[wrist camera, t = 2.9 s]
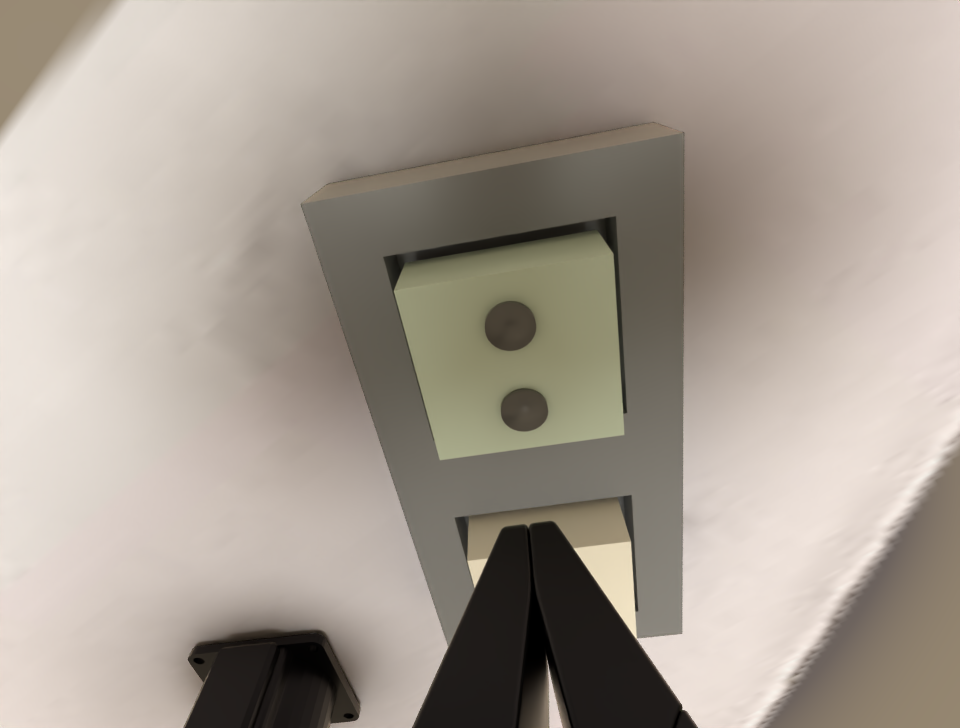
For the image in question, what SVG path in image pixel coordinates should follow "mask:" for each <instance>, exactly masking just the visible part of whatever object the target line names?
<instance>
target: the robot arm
mask: <svg viewBox="0 0 960 728" xmlns="http://www.w3.org/2000/svg"><path fill="white" fill-rule="evenodd" d="M547 660H548V663H547ZM188 661H189V663H190V664H191V666H192V667H193V668H194V670H195V671H196V673H197V674H198V675H199V677H200V678H201V679H202V681H203V682H204V684H203V686H202V688H201V690H200V693H199V695H198V697H197V699H196V701H195V704H194V706H193V708H192V710H191V712H190V715H189V717H188V719H187V721H186V723H185V726H184V728H329V727H330V723H340V722H350V721H355V720H357V719H358V718H359V713H360V706H359V704H358V702H357V700H356V698H355V696H354V694H353V692H352V690H351V688H350V686H349V684H348V682H347V680H346V678H345V676H344V674H343V672H342V670H341V668H340V666H339V664H338V662H337V660H336V658H335V656H334V654H333V652H332V650H331V648H330V646H329V644H328V642H327V640H326V639H325V637H323V636H322V635H319V634H305V635H296V636H287V637H278V638H269V639H259V640H250V641H241V642H232V643H223V644H214V645H205V646H197V647H194V648H193V649H192V651H191V653H190V655H189V657H188ZM548 665H549V670H550V675H551V680H552V684H553V689H554V693H555V697H556V701H557V705H558V710H559V714H560V718H561V722H562V726H563V728H698V727H697V725H696V724H695V723H694V721H693V720H692V718H691V717H690V715H689V714H688V712H687V711H685V710H682V704H681V703H680V701H679V700H678V698H677V697H676V696H675V694H674V693H673V691H672V690H671V688H670V687H669V685H668V684H667V683H666V681H665V680H664V678H663V677H662V675H661V674H660V672H659V671H658V670H657V668H656V667H655V665H654V664H653V662H652V661H651V659H650V658H649V657H648V655H647V654H646V652H645V651H644V649H643V648H642V646H641V645H640V644H639V642H638V641H637V639H636V638H635V636H634V635H633V633H632V632H631V631H630V629H629V628H628V626H627V625H626V623H625V622H624V620H623V619H622V618H621V616H620V615H619V613H618V612H617V610H616V609H615V607H614V606H613V605H612V603H611V602H610V600H609V599H608V597H607V596H606V594H605V593H604V592H603V590H602V589H601V587H600V586H599V584H598V583H597V581H596V580H595V579H594V577H593V576H592V574H591V573H590V571H589V570H588V568H587V567H586V566H585V564H584V563H583V561H582V560H581V558H580V557H579V555H578V554H577V553H576V551H575V550H574V548H573V547H572V545H571V544H570V542H569V541H568V540H567V538H566V537H565V535H564V534H563V532H562V531H561V529H560V528H559V527H558V525H557V524H556V523H555V522H554V521H544V522H536V523H531V524H530V525H529V528H528V526H527V525H525V524H520V525H512V526H505V527H503V528H502V529H501V531H500V533H499V535H498V537H497V539H496V542H495V544H494V546H493V548H492V550H491V553H490V555H489V557H488V559H487V562H486V564H485V566H484V568H483V571H482V573H481V575H480V577H479V580H478V582H477V584H476V586H475V588H474V591H473V593H472V595H471V597H470V600H469V602H468V604H467V606H466V609H465V611H464V613H463V615H462V617H461V620H460V622H459V624H458V626H457V629H456V631H455V633H454V635H453V638H452V640H451V642H450V644H449V646H448V649H447V651H446V653H445V655H444V658H443V660H442V662H441V664H440V667H439V669H438V671H437V673H436V676H435V678H434V680H433V682H432V684H431V687H430V689H429V691H428V693H427V696H426V698H425V700H424V702H423V705H422V707H421V709H420V711H419V713H418V716H417V718H416V720H415V722H414V725H413V727H412V728H549V678H548Z"/></svg>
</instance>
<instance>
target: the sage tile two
mask: <svg viewBox="0 0 960 728" xmlns="http://www.w3.org/2000/svg"><path fill="white" fill-rule="evenodd" d="M394 294H395V297H396V301H397V305H398V308H399V312H400V316H401V319H402V323H403V327H404V330H405V334H406V338H407V341H408V345H409V349H410V352H411V356H412V360H413V363H414V367H415V371H416V374H417V378H418V382H419V386H420V389H421V393H422V397H423V400H424V404H425V408H426V411H427V415H428V419H429V422H430V426H431V430H432V433H433V437H434V441H435V444H436V448H437V452H438V455H439V459H440V460H446V459H453V458H460V457H468V456H475V455H482V454H490V453H497V452H504V451H511V450H519V449H526V448H533V447H541V446H548V445H555V444H562V443H570V442H577V441H584V440H591V439H599V438H606V437H613V436H621V435H624V419H623V403H622V386H621V370H620V353H619V337H618V320H617V304H616V287H615V271H614V254H613V253H612V251H611V250H610V248H609V247H608V245H607V244H606V242H605V241H604V239H603V238H602V236H601V235H600V234H599V232H598V231H597V230H592V231H587V232H581V233H575V234H569V235H564V236H558V237H552V238H546V239H540V240H535V241H529V242H523V243H517V244H511V245H506V246H500V247H494V248H488V249H482V250H477V251H471V252H465V253H459V254H453V255H448V256H442V257H436V258H430V259H425V260H419V261H413V262H407V263H405V264H404V267H403V269H402V272H401V274H400V276H399V279H398V281H397V284H396V286H395V289H394Z"/></svg>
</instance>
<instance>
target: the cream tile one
mask: <svg viewBox="0 0 960 728" xmlns="http://www.w3.org/2000/svg"><path fill="white" fill-rule="evenodd" d="M544 521H554V522H555V523H556V524H557V525H558V527H559V528H560V529H561V531H562V532H563V534H564V535H565V537H566V538H567V540H568V541H569V542H570V544H571V545H572V547H573V548H574V550H575V551H576V553H577V554H578V555H579V557H580V558H581V560H582V561H583V563H584V564H585V566H586V567H587V568H588V570H589V571H590V573H591V574H592V576H593V577H594V579H595V580H596V581H597V583H598V584H599V586H600V587H601V589H602V590H603V592H604V593H605V594H606V596H607V597H608V599H609V600H610V602H611V603H612V605H613V606H614V607H615V609H616V610H617V612H618V613H619V615H620V616H621V618H622V619H623V620H624V622H625V623H626V625H627V626H628V628H629V629H630V631H631V632H632V633H633V635H634V636H635V638H636V639H637V633H636V617H635V600H634V584H633V568H632V551H631V540H630V537H629V534H628V530H627V527H626V524H625V521H624V517H623V514H622V511H621V508H620V504H619V501H618V498H617V497H612V498H604V499H596V500H588V501H580V502H572V503H565V504H557V505H549V506H541V507H533V508H525V509H517V510H510V511H502V512H494V513H486V514H478V515H470V516H469V526H468V555H467V562H468V565H469V569H470V573H471V576H472V580H473V584H474V587H475V586H476V584H477V582H478V580H479V577H480V575H481V573H482V571H483V568H484V566H485V564H486V562H487V559H488V557H489V555H490V553H491V550H492V548H493V546H494V544H495V542H496V539H497V537H498V535H499V533H500V531H501V529H502V528H503V527H505V526H512V525H520V524H525V525H527V526H528V528H529V525H530V524H531V523H536V522H544Z"/></svg>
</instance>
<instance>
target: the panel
mask: <svg viewBox="0 0 960 728" xmlns="http://www.w3.org/2000/svg"><path fill="white" fill-rule="evenodd" d="M301 206H302V209H303V212H304V215H305V218H306V221H307V224H308V227H309V230H310V233H311V236H312V239H313V242H314V245H315V248H316V251H317V254H318V257H319V260H320V263H321V266H322V269H323V272H324V275H325V278H326V281H327V284H328V287H329V290H330V293H331V296H332V299H333V302H334V305H335V308H336V311H337V314H338V317H339V320H340V323H341V326H342V329H343V332H344V335H345V338H346V341H347V344H348V347H349V350H350V353H351V356H352V359H353V362H354V365H355V368H356V371H357V374H358V377H359V380H360V383H361V386H362V389H363V392H364V395H365V398H366V401H367V404H368V407H369V410H370V413H371V416H372V419H373V422H374V425H375V428H376V431H377V434H378V437H379V440H380V443H381V446H382V449H383V452H384V455H385V458H386V461H387V464H388V467H389V470H390V473H391V476H392V479H393V482H394V485H395V488H396V491H397V494H398V497H399V500H400V503H401V506H402V509H403V512H404V515H405V518H406V521H407V524H408V527H409V530H410V533H411V536H412V539H413V542H414V545H415V548H416V551H417V554H418V557H419V560H420V563H421V566H422V569H423V572H424V575H425V578H426V581H427V584H428V587H429V590H430V593H431V596H432V599H433V602H434V605H435V608H436V611H437V614H438V617H439V620H440V623H441V626H442V629H443V632H444V635H445V638H446V641H447V644H448V646H449V644H450V642H451V640H452V638H453V635H454V633H455V631H456V629H457V626H458V624H459V622H460V620H461V617H462V615H463V613H464V611H465V609H466V606H467V604H468V602H469V600H470V597H471V595H472V593H473V591H474V588H475V587H474V584H473V580H472V576H471V573H470V569H469V565H468V562H467V555H468V526H469V516H470V515H478V514H486V513H494V512H502V511H510V510H517V509H525V508H533V507H541V506H549V505H557V504H565V503H572V502H580V501H588V500H596V499H604V498H612V497H617V498H618V501H619V504H620V508H621V511H622V514H623V517H624V521H625V524H626V527H627V530H628V534H629V537H630V540H631V551H632V568H633V584H634V600H635V617H636V633H637V638H646V637H656V636H665V635H675V634H682V553H683V303H684V132H681V131H678V130H675V129H672V128H669V127H666V126H663V125H660V124H657V123H654V122H653V123H647V124H642V125H637V126H631V127H626V128H621V129H616V130H610V131H605V132H600V133H594V134H589V135H584V136H579V137H573V138H568V139H563V140H557V141H552V142H547V143H541V144H536V145H531V146H526V147H520V148H515V149H510V150H504V151H499V152H494V153H489V154H483V155H478V156H473V157H467V158H462V159H457V160H452V161H446V162H441V163H436V164H430V165H425V166H420V167H414V168H409V169H404V170H399V171H393V172H388V173H383V174H377V175H372V176H367V177H362V178H356V179H351V180H346V181H340V182H335V183H330V184H327V185H325V186H324V187H323V188H321V189H320V190H319V191H317V192H316V193H315V194H313V195H312V196H311V197H309V198H308V199H307V200H306V201H304V202H303V203H302V204H301ZM592 230H597V231H598V232H599V234H600V235H601V236H602V238H603V239H604V241H605V242H606V244H607V245H608V247H609V248H610V250H611V251H612V253H613V254H614V271H615V287H616V304H617V320H618V337H619V353H620V370H621V386H622V403H623V419H624V435H621V436H613V437H606V438H599V439H591V440H584V441H577V442H570V443H562V444H555V445H548V446H541V447H533V448H526V449H519V450H511V451H504V452H497V453H490V454H482V455H475V456H468V457H460V458H453V459H446V460H440V459H439V455H438V452H437V448H436V444H435V441H434V437H433V433H432V430H431V426H430V422H429V419H428V415H427V411H426V408H425V404H424V400H423V397H422V393H421V389H420V386H419V382H418V378H417V374H416V371H415V367H414V363H413V360H412V356H411V352H410V349H409V345H408V341H407V338H406V334H405V330H404V327H403V323H402V319H401V316H400V312H399V308H398V305H397V301H396V297H395V294H394V289H395V286H396V284H397V281H398V279H399V276H400V274H401V272H402V269H403V267H404V264H405V263H407V262H413V261H419V260H425V259H430V258H436V257H442V256H448V255H453V254H459V253H465V252H471V251H477V250H482V249H488V248H494V247H500V246H506V245H511V244H517V243H523V242H529V241H535V240H540V239H546V238H552V237H558V236H564V235H569V234H575V233H581V232H587V231H592Z"/></svg>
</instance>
